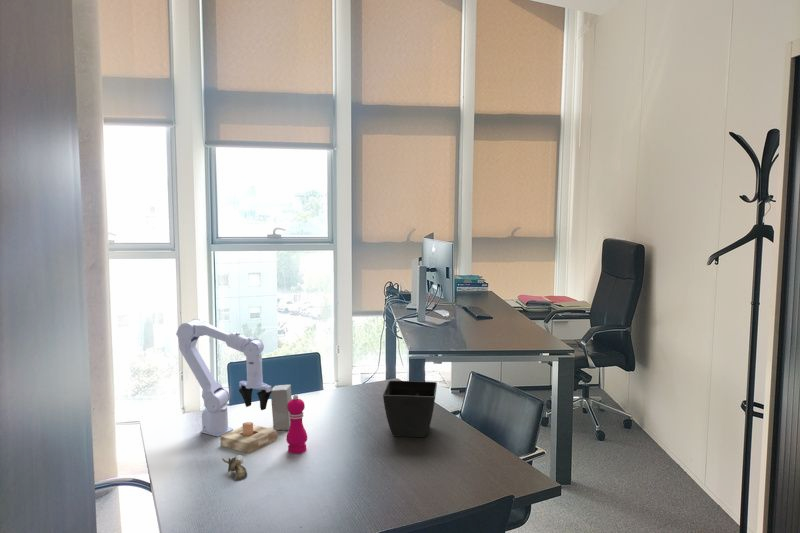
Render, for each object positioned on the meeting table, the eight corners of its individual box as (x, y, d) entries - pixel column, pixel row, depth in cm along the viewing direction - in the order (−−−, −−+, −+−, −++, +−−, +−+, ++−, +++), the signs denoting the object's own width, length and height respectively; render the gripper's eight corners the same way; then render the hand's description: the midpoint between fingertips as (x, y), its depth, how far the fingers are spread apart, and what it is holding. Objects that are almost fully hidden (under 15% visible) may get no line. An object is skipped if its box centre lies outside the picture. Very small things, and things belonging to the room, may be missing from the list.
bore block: (220, 445, 215) (220, 436, 214) (249, 432, 227) (248, 423, 226) (249, 453, 208) (248, 443, 207) (277, 439, 220) (276, 430, 219)
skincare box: (289, 430, 228) (288, 390, 227) (271, 430, 229) (269, 390, 227) (294, 422, 237) (292, 383, 235) (276, 422, 237) (274, 383, 235)
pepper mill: (303, 455, 205) (301, 398, 203) (283, 453, 207) (281, 397, 205) (310, 447, 212) (309, 392, 210) (291, 445, 214) (289, 391, 212)
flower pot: (437, 422, 235) (437, 380, 233) (435, 441, 216) (435, 396, 214) (389, 421, 237) (388, 380, 235) (383, 440, 218) (382, 395, 216)
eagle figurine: (215, 470, 192) (222, 476, 184) (226, 449, 194) (233, 453, 186) (237, 479, 195) (244, 484, 187) (247, 457, 197) (255, 462, 189)
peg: (241, 440, 217) (240, 424, 216) (249, 437, 219) (248, 421, 219) (247, 442, 214) (246, 426, 214) (255, 439, 217) (255, 423, 217)
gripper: (232, 372, 224) (234, 407, 225) (261, 377, 217) (262, 414, 218) (246, 367, 230) (247, 402, 231) (274, 372, 223) (276, 408, 224)
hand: (255, 407), depth 225 cm, fingers open, 7 cm apart
